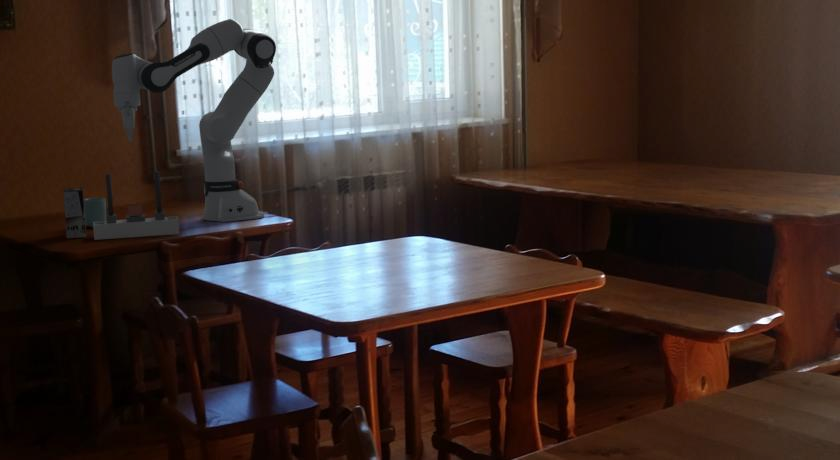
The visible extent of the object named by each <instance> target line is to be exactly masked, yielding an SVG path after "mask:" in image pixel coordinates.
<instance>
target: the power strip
mask: <svg viewBox="0 0 840 460" xmlns="http://www.w3.org/2000/svg"><path fill="white" fill-rule="evenodd" d="M92 228H93V230H92V231H93V238H94V239H93V240H95V241H96V240H108V239H109V240H111V239H113V240H114V239H123V238H125V239H126V238H140V237H153V236H167V235H180V224H179V217H178V215H177V216H165V220H156V219H155V217H147V218H146V215H145V213H144V214H143V213H142V215H137V216H129V214H128V215H126V219H119V220H118V219H116V223H108V224H107V220H106V221H98V222H94V223H93V227H92Z"/></svg>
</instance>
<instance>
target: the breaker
mask: <svg viewBox="0 0 840 460" xmlns="http://www.w3.org/2000/svg"><path fill="white" fill-rule="evenodd" d="M142 206H143V204H139V205H128V215H129V216H137V215H142V214H143V207H142Z"/></svg>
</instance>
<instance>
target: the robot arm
mask: <svg viewBox="0 0 840 460" xmlns="http://www.w3.org/2000/svg"><path fill="white" fill-rule="evenodd" d="M276 45H277V44H276V42H275V40H274V39H273V38H272V37H271V36H270V35H269V34H267V33H264V32H262V31H260V30H256V29H250V28H244V27H243V26H242V25H241V23H239V22H238V21H237V20H236V19H234V18H233V19H232V18H230V19H229V18H228V19H225V20H221V21H218V22H216V23H214V24H212V25H209V26H208V27H205V28H203V29H202V30H200V31H199V32H198V33H196V34H195V36H193V37H191V40H190V42H189V46H188V47H187V48H186V49H185V50H184V51H183V52H181V53H179V54H177V55H176V56H174V57H171V58H170V59H168V60H166V61H164V62H163V61H162V62H151V61H149V60H145V59H143V58H141V57H139V56H138V55H136V54H135V53H133V52H132V53H131V52H130V53H123V54H119V55H116V56H115V57H114V58H113V60H112V64H111V76H112V77H111V79H112V83H113V103H114V104H113V105H114V107H116V108H118V112H121V118H122V124H123V129H124V130H125V131H126V138H127V142H133V141H134V138H133V133H134V132H133V130H135V128H136V126H135V121H136V119H135V118H136V117H135V116H136V112H137V111H138V107H140V106H141V93H140V92H141V90H142V89H143V90H147V91H150V92H152V93H156V94H157V93H158V94H159V93H163V92H166V91H167V90H168V89H169V88H170V87H171V85H172V84H173V83H174V81H176V79H178V78H179V77H180V76H181V75H183V74H185V73H187V72H188V71H190V70H192V69H193V68H196V67H197V66H199V65H200V66H201V65H202V64H206V63H209V62H212V61H214V60H217V59H219V58H221V57H222V56H225V55H226V54H228V53H230V52H232V51H234V52H235V53H236V54H237V55H238V56H239V57H241V58H244V59H245V66H244V67H243V70H242V71H241V72H240V73H239V74H238V75H237V77H236V78H235V80H234V81H233V82H232V84H231V85H230V86H229V87H228V88H227V90H226V91H225V92H224V94H223V95H222V98H221V100H220V101H219V103H218V105H217V106H216V108H215V109H214V111H210V112H207V113H205V114H204V115H203V116H202V117H201V118H200V120H199V124H198V127H199V128H198V130H199V136H200V144H201V151H202V156H203V169H204V170H203V171H204V180H203V193H204V197H205V200H204V211H203V216H202V219H203V220H204V221H205V220H206V221H211V222H212V221H213V222H221V223H222V222H223V223H225V222H226V223H228V222H234V221H235V222H237V221H245V220H256V219H263V218H264V217H265V213H264V211H262V210H259V207H258V203H257V201H256V199H255V198H254V196H252V195H250V194H249V193H247V192H246V191H245V190H243V189H242V188H243V187H244V183H243V181H240V180H238V179H236V167H235V155H234V152H233V146H232V140H233V139H234V138H235V136H236V134H237V133H238V131H239V130H240V127H241V126H242V124H243V122H245V120H246V117H247V116H248V114H249V113H250V112H251V110H252V109H253V108H254V107H255V105H256V104H257V102H258V101H259V100H260V98H261V97H262V96H263V94H264V93H265V92H266V90H267V89H268V87H269V85H271V82H272V80H273V78H274V77H275V70H274V67H273V66H272V64H273V63H274V57H275V55H276V53H277V46H276Z"/></svg>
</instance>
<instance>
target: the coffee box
mask: <svg viewBox="0 0 840 460" xmlns="http://www.w3.org/2000/svg"><path fill="white" fill-rule="evenodd" d="M62 194H63V195H62V196H63V208H64V217H65V231H66V238H67V239H75V238H86V236H87V227H86V226H87V224H86V222H85V209H84V199H85V198H84V190H83V187H73V188H72V187H71V188H64V189H63V191H62Z"/></svg>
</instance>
